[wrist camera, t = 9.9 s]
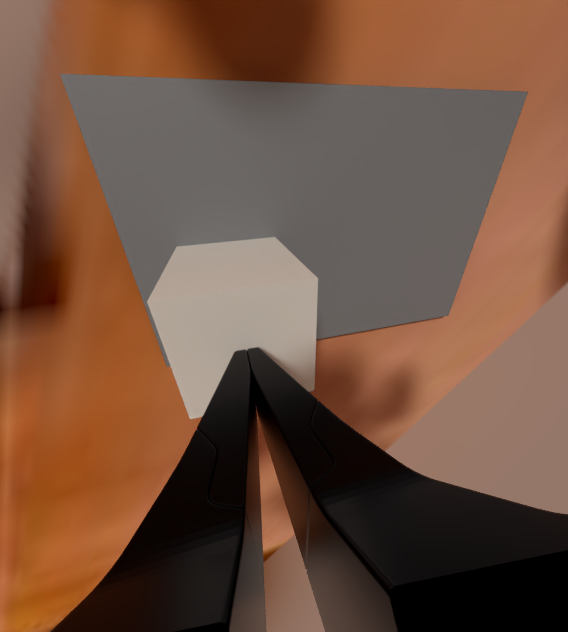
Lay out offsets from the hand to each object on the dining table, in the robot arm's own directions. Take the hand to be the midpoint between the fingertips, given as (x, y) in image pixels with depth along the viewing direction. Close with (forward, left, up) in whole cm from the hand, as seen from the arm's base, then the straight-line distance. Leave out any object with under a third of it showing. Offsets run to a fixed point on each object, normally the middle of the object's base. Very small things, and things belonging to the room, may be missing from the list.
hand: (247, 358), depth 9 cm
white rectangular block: (0, 0, -7) cm, 7 cm away
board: (-6, -2, -7) cm, 10 cm away
